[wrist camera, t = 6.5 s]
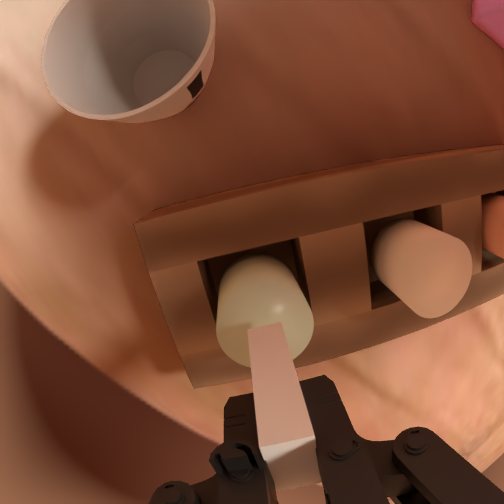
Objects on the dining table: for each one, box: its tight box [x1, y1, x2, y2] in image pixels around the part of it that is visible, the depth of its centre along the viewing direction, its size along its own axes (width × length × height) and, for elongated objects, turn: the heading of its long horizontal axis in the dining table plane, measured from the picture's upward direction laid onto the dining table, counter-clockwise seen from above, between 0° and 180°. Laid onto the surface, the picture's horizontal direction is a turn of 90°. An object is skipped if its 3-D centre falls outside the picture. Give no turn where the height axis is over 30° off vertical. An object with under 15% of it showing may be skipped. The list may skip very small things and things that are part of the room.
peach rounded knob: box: [370, 218, 472, 318], centre depth 18 cm, size 5×5×5 cm
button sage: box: [216, 253, 314, 368], centre depth 18 cm, size 5×5×5 cm
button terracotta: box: [481, 193, 504, 259], centre depth 20 cm, size 5×5×5 cm
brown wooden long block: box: [133, 144, 504, 389], centre depth 22 cm, size 12×32×5 cm, turn 103°
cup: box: [41, 0, 216, 123], centre depth 15 cm, size 8×8×10 cm
